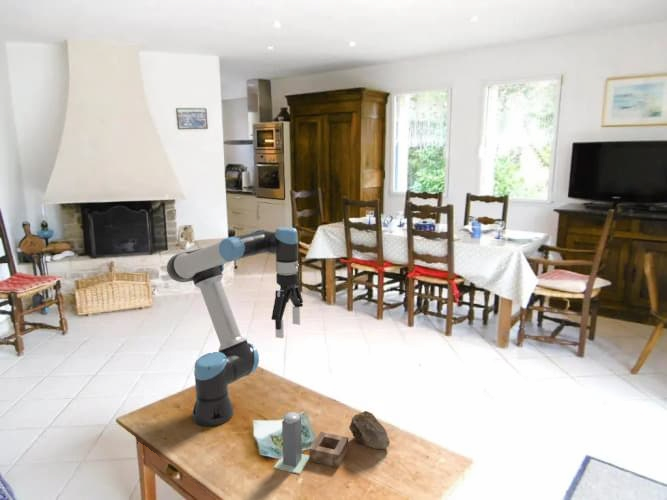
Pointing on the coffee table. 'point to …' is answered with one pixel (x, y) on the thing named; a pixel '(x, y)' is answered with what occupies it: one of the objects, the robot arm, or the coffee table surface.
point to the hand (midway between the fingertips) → (288, 330)
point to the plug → (291, 439)
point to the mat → (293, 469)
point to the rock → (369, 431)
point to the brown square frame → (329, 449)
